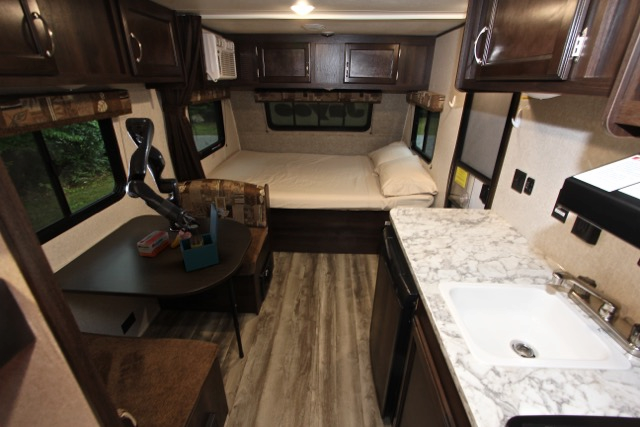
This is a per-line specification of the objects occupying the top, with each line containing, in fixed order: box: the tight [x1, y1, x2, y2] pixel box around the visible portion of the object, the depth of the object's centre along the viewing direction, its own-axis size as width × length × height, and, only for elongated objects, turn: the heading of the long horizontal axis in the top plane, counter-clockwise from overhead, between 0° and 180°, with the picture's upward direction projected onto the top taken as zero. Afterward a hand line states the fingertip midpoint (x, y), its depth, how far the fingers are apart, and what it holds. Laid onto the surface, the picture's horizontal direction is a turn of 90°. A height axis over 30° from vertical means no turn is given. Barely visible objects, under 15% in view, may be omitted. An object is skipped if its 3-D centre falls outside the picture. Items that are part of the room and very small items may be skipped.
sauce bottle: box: [189, 224, 204, 249], centre depth 149 cm, size 6×6×20 cm
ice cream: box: [170, 227, 191, 249], centre depth 168 cm, size 11×10×15 cm
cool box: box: [179, 232, 220, 273], centre depth 151 cm, size 16×13×12 cm
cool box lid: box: [209, 203, 226, 244], centre depth 150 cm, size 17×13×5 cm
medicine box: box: [136, 230, 171, 258], centre depth 162 cm, size 15×8×8 cm, turn 172°
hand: (197, 229), depth 146 cm, fingers open, 8 cm apart
